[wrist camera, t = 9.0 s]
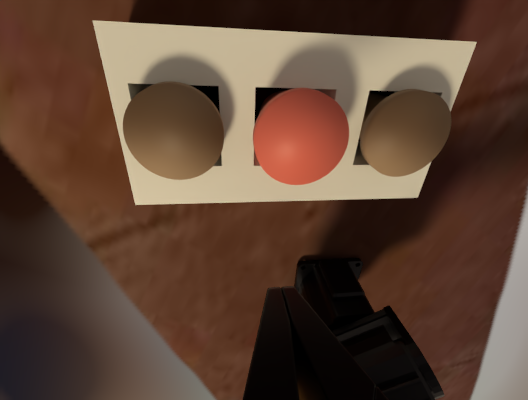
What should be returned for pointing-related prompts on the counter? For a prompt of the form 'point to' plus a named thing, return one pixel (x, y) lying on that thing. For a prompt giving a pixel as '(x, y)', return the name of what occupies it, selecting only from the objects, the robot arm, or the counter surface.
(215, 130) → the walnut plunger near
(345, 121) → the red plunger
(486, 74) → the counter surface
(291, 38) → the jig
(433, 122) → the walnut plunger far
